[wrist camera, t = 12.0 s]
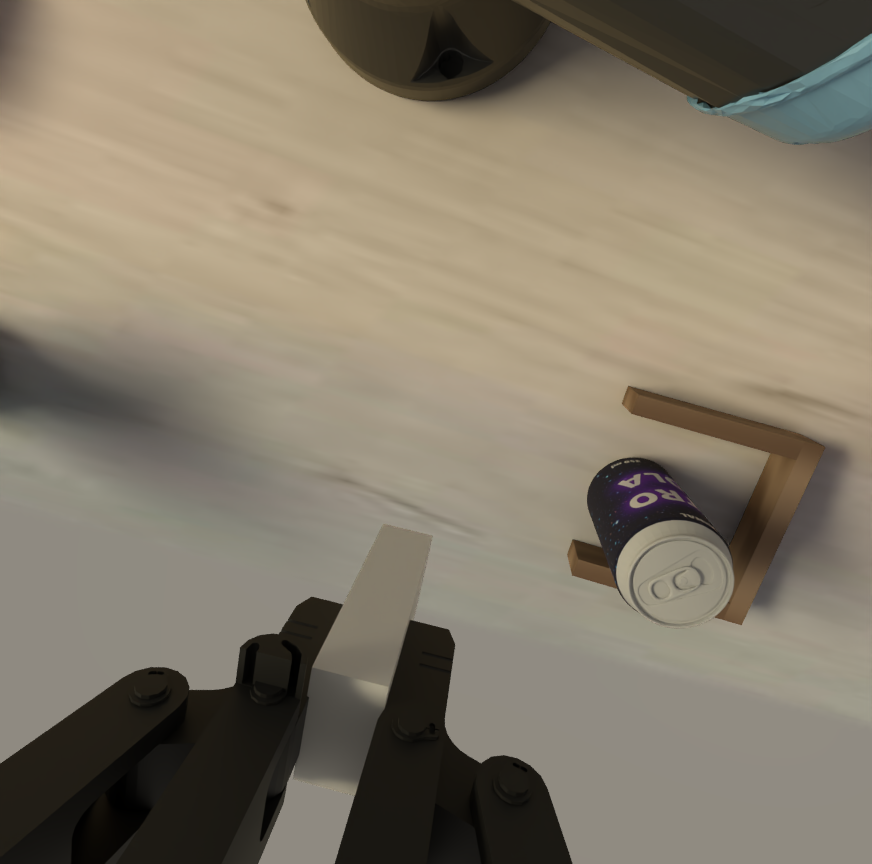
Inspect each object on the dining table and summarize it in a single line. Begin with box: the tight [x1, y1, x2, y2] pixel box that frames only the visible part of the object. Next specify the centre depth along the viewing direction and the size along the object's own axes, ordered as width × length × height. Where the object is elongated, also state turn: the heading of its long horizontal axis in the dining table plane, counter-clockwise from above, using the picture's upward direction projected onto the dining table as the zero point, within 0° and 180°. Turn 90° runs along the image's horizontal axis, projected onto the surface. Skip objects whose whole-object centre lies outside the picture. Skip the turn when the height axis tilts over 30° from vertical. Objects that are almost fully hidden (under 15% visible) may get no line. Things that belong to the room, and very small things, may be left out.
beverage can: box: [587, 458, 734, 628], centre depth 33 cm, size 6×6×12 cm
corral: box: [567, 386, 825, 625], centre depth 37 cm, size 12×11×3 cm
